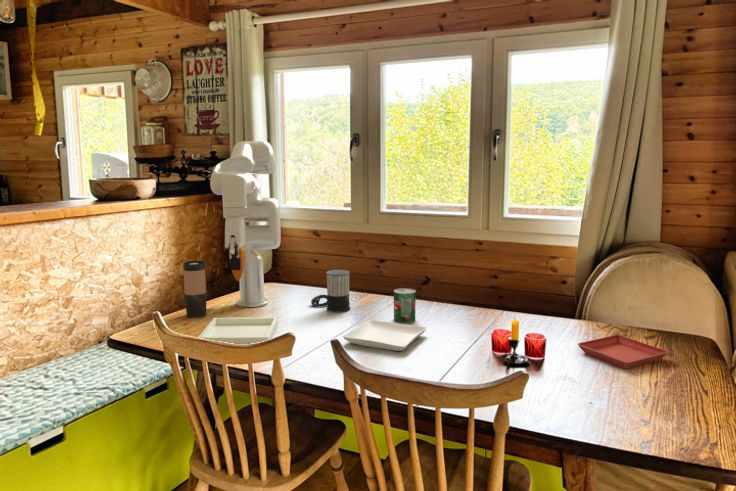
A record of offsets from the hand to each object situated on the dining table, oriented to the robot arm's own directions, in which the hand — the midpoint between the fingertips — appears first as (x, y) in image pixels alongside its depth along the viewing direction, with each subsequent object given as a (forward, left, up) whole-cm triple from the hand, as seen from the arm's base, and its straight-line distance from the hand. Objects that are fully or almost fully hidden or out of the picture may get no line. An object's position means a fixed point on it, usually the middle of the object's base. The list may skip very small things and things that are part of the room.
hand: (237, 267), depth 186 cm
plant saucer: (+23, +117, -24) cm, 122 cm away
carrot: (0, 0, -5) cm, 5 cm away
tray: (0, 0, -23) cm, 23 cm away
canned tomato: (-16, +56, -23) cm, 63 cm away
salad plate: (+6, +48, -24) cm, 54 cm away
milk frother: (-34, +29, -23) cm, 50 cm away
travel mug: (-25, -21, -23) cm, 40 cm away
